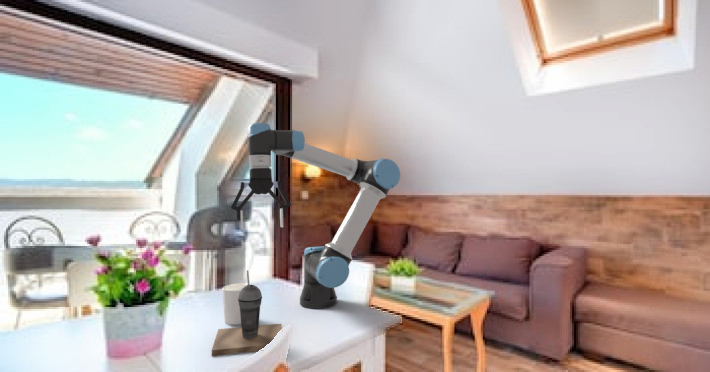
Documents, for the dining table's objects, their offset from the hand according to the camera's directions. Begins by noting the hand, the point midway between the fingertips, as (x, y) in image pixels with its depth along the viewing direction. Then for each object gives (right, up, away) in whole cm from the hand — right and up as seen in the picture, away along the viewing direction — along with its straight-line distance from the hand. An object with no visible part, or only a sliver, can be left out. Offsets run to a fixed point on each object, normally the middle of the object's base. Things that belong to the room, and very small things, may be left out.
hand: (262, 228), depth 130 cm
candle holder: (-9, -33, +1) cm, 34 cm away
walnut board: (0, -33, -16) cm, 36 cm away
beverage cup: (0, -32, -16) cm, 35 cm away
